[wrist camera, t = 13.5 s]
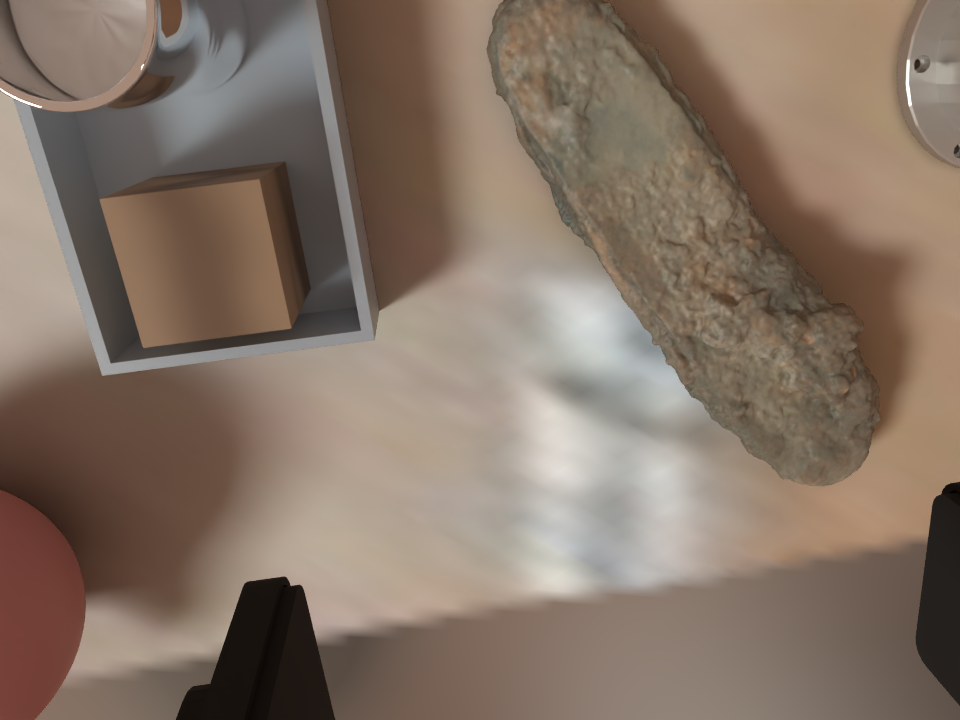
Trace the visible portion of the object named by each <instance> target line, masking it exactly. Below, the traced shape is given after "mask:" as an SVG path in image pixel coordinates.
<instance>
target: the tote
mask: <svg viewBox="0 0 960 720" xmlns="http://www.w3.org/2000/svg"><path fill="white" fill-rule="evenodd" d="M240 1H241V3H242V5H243V8H244V11H245V14H246V18H247V24H248V44H247V49H246V53H245V56H244V58H243V61H242V63H241V64H240V66H239V68H238V69H237V71H236V72H235V73H234V74H233V76H232V77H231V78H230V79H228V80H227V81H226V82H225V83H223V84H222V85H220V86H218V87H216V88H214V89H211V90H207V91H203V92H182V91H181V92H179V93H178V94H176V95H175V96H173V97H171V98H170V99H168V100H166V101H164V102H162V103H160V104H157V105H155V106H152V107H148V108H144V109H140V110H136V111H131V112H122V113H82V112H54V111H48V110H43V109H39V108H35V107H32V106H29V105H27V104H24V103H22V102H19V101H17V100H15V99H14V102H15V105H16V108H17V111H18V114H19V118H20V121H21V124H22V127H23V130H24V133H25V136H26V139H27V143H28V146H29V149H30V152H31V155H32V158H33V161H34V164H35V168H36V171H37V174H38V177H39V180H40V183H41V186H42V189H43V193H44V196H45V199H46V202H47V205H48V208H49V211H50V214H51V218H52V221H53V224H54V227H55V230H56V233H57V236H58V239H59V243H60V246H61V249H62V252H63V255H64V258H65V261H66V264H67V267H68V271H69V274H70V277H71V280H72V283H73V286H74V289H75V292H76V296H77V299H78V302H79V305H80V308H81V311H82V314H83V317H84V321H85V324H86V327H87V330H88V333H89V336H90V339H91V342H92V346H93V349H94V352H95V355H96V358H97V361H98V364H99V367H100V371H101V374H102V376H105V375H113V374H120V373H128V372H135V371H143V370H151V369H158V368H166V367H174V366H181V365H189V364H196V363H204V362H212V361H219V360H227V359H234V358H242V357H250V356H257V355H265V354H273V353H280V352H288V351H295V350H303V349H311V348H318V347H326V346H334V345H341V344H349V343H356V342H364V341H372V340H375V335H376V328H377V322H378V316H379V307H378V301H377V295H376V289H375V283H374V277H373V271H372V266H371V260H370V254H369V248H368V242H367V236H366V230H365V224H364V218H363V212H362V206H361V200H360V194H359V188H358V182H357V176H356V171H355V165H354V159H353V153H352V147H351V141H350V135H349V129H348V123H347V117H346V111H345V105H344V99H343V93H342V87H341V81H340V76H339V70H338V64H337V58H336V52H335V46H334V40H333V34H332V28H331V22H330V16H329V10H328V4H327V0H240ZM284 161H285V163H286V168H287V173H288V177H289V182H290V187H291V192H292V197H293V202H294V207H295V212H296V217H297V222H298V227H299V232H300V237H301V242H302V247H303V252H304V257H305V262H306V267H307V272H308V277H309V282H310V287H311V290H310V292H309V294H308V296H307V298H306V300H305V302H304V304H303V306H302V308H301V310H300V312H299V314H298V316H297V318H296V320H295V322H294V324H293V326H292V329H285V330H277V331H269V332H262V333H254V334H246V335H239V336H231V337H223V338H216V339H208V340H200V341H193V342H185V343H177V344H170V345H162V346H154V347H147V348H143V346H142V343H141V339H140V336H139V332H138V329H137V326H136V322H135V319H134V315H133V312H132V309H131V305H130V302H129V298H128V295H127V292H126V288H125V285H124V281H123V278H122V275H121V271H120V268H119V265H118V261H117V258H116V254H115V251H114V248H113V244H112V241H111V237H110V234H109V231H108V227H107V224H106V220H105V217H104V214H103V210H102V207H101V203H100V200H99V199H101V198H103V197H105V196H108V195H110V194H113V193H115V192H118V191H120V190H123V189H125V188H128V187H130V186H133V185H135V184H138V183H140V182H142V181H145V180H147V179H150V178H154V177H162V176H170V175H178V174H186V173H194V172H202V171H210V170H219V169H227V168H235V167H243V166H251V165H259V164H267V163H275V162H284Z"/></svg>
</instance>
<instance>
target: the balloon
mask: <svg viewBox="0 0 960 720" xmlns="http://www.w3.org/2000/svg"><path fill="white" fill-rule="evenodd" d="M85 609H86V600H85V588H84V582H83V577H82V573H81V570H80V567H79V564H78V561H77V559H76V556H75V554H74V552H73V550H72V548H71V547H70V545H69V543H68V542H67V540H66V539H65V537H64V536H63V534H62V533H61V532H60V531H59V529H58V528H57V527H56V526H55V525H54V524H53V523H52V522H51V521H50V520H49V519H48V518H47V517H46V516H45V515H44V514H42V513H41V512H40V511H39V510H37V509H36V508H35V507H33V506H32V505H30V504H28V503H27V502H25V501H23V500H22V499H20V498H18V497H16V496H14V495H12V494H10V493H7V492H5V491H2V490H0V720H35V719H36V718H37V716H38V715H39V714H40V713H41V712H42V711H43V710H44V708H45V707H46V706H47V705H48V704H49V702H50V701H51V700H52V698H53V697H54V696H55V694H56V693H57V691H58V690H59V688H60V686H61V685H62V683H63V681H64V680H65V678H66V676H67V674H68V672H69V670H70V668H71V666H72V664H73V662H74V659H75V656H76V654H77V651H78V648H79V645H80V641H81V637H82V633H83V628H84V622H85Z"/></svg>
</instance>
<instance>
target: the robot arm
mask: <svg viewBox="0 0 960 720" xmlns="http://www.w3.org/2000/svg"><path fill="white" fill-rule="evenodd" d="M914 63H915V67H914ZM897 85H898V97H899V101H900V105H901V109H902V113H903V116H904V118H905V121H906V123H907V125H908V127H909V129H910V131H911V133H912V134H913V136H914V137H915V138H916V139H917V141H918V142H919V143H920V144H921V146H922V147H923V148H924V149H925V150H926V151H928V152H929V153H930V154H932V155H933V156H934V157H936V158H937V159H938V160H940V161H942V162H945V163H947V164H949V165H951V166H954V167H957V168H960V0H918V2H917V4H916V6H915V8H914V10H913V12H912V15H911V17H910V19H909V21H908V23H907V26H906V29H905V33H904V36H903V39H902V43H901V46H900V52H899V59H898V67H897ZM916 646H917V650H918V653H919V655H920V657H921V659H922V661H923V662H924V664H925V665H926V667H927V668H928V669H929V670H930V671H931V672H932V674H933V675H934V676H935V677H936V678H937V680H938V681H939V682H940V683H941V684H942V685H943V687H944V688H945V689H946V690H947V691H948V692H949V694H950V695H951V696H952V697H953V698H954V700H955V701H956V702H957V703H958V704H959V705H960V482H956V483H950V484H948V485H946V486H945V488H944V489H943V491H942V494H941V495H939V496H936V498H935V499H934V501H933V505H932V513H931V521H930V529H929V537H928V544H927V552H926V560H925V568H924V576H923V585H922V592H921V601H920V607H919V616H918V624H917V631H916ZM176 720H335V717H334V713H333V709H332V705H331V701H330V696H329V692H328V688H327V684H326V680H325V676H324V672H323V667H322V663H321V659H320V655H319V651H318V647H317V642H316V638H315V634H314V630H313V626H312V622H311V617H310V613H309V609H308V605H307V601H306V597H305V593H304V589H303V587H302V586H301V585H295V586H290V583H289V581H288V579H287V578H286V577H278V578H271V579H264V580H256V581H249V582H246V583H245V584H244V586H243V588H242V591H241V594H240V597H239V600H238V603H237V606H236V609H235V612H234V615H233V618H232V621H231V624H230V627H229V630H228V633H227V636H226V639H225V642H224V645H223V648H222V651H221V654H220V657H219V660H218V663H217V665H216V669H215V671H214V674H213V678H212V680H211V684H206V685H199V686H193V687H192V688H191V689H190V690H189V691H188V692H187V694H186V696H185V698H184V700H183V702H182V705H181V707H180V710H179V713H178V716H177V718H176Z"/></svg>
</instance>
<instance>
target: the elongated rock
mask: <svg viewBox="0 0 960 720" xmlns="http://www.w3.org/2000/svg"><path fill="white" fill-rule="evenodd" d="M492 23H493V31H492V33H491V35H490V37H489V41H488V46H487V54H488V58H489V61H490V64H491V68H492V77H493V81H494V84H495V86H496V88H497V91H496V94H497V95H500V96H501V97H502V98H503V99H504V101H505V102H506V103H507V104H508V105H509V107H510V110H511V112H512V115H513V117H514V121H515V125H516V132H517V136H518V139H519V142H520V144H521V145H522V146H523V147H524V149H525V151H526V153H527V154H528V155H529V156H530V157H531V158H532V159H533V160H534V162H535V164H536V165H537V166H538V168H539V169H540V171H541V175H542V177H543V178H544V179H545V180H546V181H547V182H548V183H549V185H550V188H551V191H552V195H553V198H554V201H555V205H556V206H557V208H558V210H559V214H560V216H561V220H562V221H563V222H564V223H565V224H566V225H567V226H569V227H571V229H572V231H573V233H574V234H576V235H578V236H579V237H580V238H582V239H583V240H584V242H585V245H586V246H589V247H590V248H592V249H593V250H594V251H595V253H596V254H597V256H598V258H599V260H600V262H601V263H602V265H603V267H604V268H605V270H606V271H607V273H608V274H609V276H610V277H611V279H612V281H613V282H614V283H615V285H616V287H617V289H618V290H619V291H620V293H621V296H622V298H623V300H624V301H625V302H626V303H627V305H628V306H629V307H630V308H631V309H632V310H633V311H634V313H635V314H636V316H637V317H638V319H639V320H640V322H641V324H642V325H643V326H644V328H645V329H646V330H648V331H649V332H650V333H651V335H652V337H653V340H652V343H653V344H654V345H660V347H661V349H662V352H663V354H664V355H665V357H666V363H667V364H668V365H671V366H672V367H673V368H674V369H675V370H676V373H677V374H678V377H679V379H680V381H681V382H682V384H684V386H685V388H686V389H687V391H688V392H689V394H690V395H691V397H693V398H696V399H697V400H699V401H701V402H702V403H703V404H704V406H705V409H706V411H707V412H708V413H709V414H710V417H711V418H712V419H713V420H715V421H717V422H718V423H719V424H720V425H721V426H722V427H723V428H725V429H727V430H730V431H732V432H733V433H734V434H735V435H737V436H738V437H739V438H740V439H741V442H742V444H743V445H744V447H745V448H746V450H747V452H748V453H750V454H752V455H753V456H754V457H757V458H759V459H762V460H764V461H766V462H767V463H768V464H770V465H771V466H772V468H773V469H774V470H776V472H777V473H778V474H779V476H780V477H781V478H782V479H790V480H792V481H795V482H797V483H800V484H805V485H810V486H826V485H832V484H834V483H837V482H839V481H842V480H844V479H845V478H847V477H848V476H850V475H851V474H852V473H853V472H855V471H857V470H858V469H859V468H860V467H861V465H862V463H863V462H864V461H865V459H866V457H867V456H868V453H869V448H870V445H871V435H872V433H873V431H874V426H875V425H876V424H877V423H878V422H879V421H880V420H881V415H880V413H879V410H878V409H879V397H878V396H877V394H878V393H879V387H878V384H877V381H876V379H875V378H874V376H873V375H871V374H870V371H869V369H868V368H867V367H866V366H865V365H864V364H863V360H862V358H861V356H860V351H859V350H857V349H856V347H857V345H858V343H859V339H858V338H857V336H858V335H859V334H860V333H861V332H862V331H863V330H864V324H863V322H862V321H861V320H860V319H859V317H858V316H857V315H856V314H855V312H854V311H853V309H852V308H851V307H850V306H847V305H845V304H830V303H829V300H828V299H827V298H826V297H825V296H824V295H823V291H822V289H821V287H820V286H819V284H818V283H817V281H816V280H815V279H814V277H813V276H812V275H810V274H808V272H806V271H805V270H804V268H803V267H802V266H801V265H800V264H798V263H796V259H795V258H794V256H793V254H792V253H791V252H790V251H789V250H788V249H786V248H785V247H784V246H783V245H782V244H780V243H779V241H777V238H776V237H775V236H774V235H772V234H771V232H770V229H768V228H766V227H765V225H764V224H763V223H762V222H761V221H760V220H759V218H758V217H757V216H756V215H755V213H754V211H753V209H752V207H751V203H750V201H749V199H748V193H746V192H745V190H744V189H743V188H742V187H741V185H740V183H739V180H738V179H737V175H736V173H735V172H734V170H733V168H732V166H731V164H730V163H729V162H728V160H727V159H726V157H725V156H724V153H723V150H722V149H721V147H720V145H719V143H718V142H717V141H716V139H715V137H714V135H713V133H712V132H711V131H710V130H709V129H708V125H707V124H706V123H705V120H704V118H703V116H702V115H700V113H699V112H697V111H696V110H695V109H694V108H693V107H692V106H691V103H690V100H689V98H688V97H687V96H686V94H685V93H684V92H682V91H681V90H679V89H678V88H677V87H676V86H675V85H674V81H673V79H672V76H671V72H670V71H669V69H668V68H667V66H666V64H665V63H664V62H663V61H662V60H661V58H660V56H659V54H658V51H657V50H656V49H655V48H653V47H652V46H651V45H650V44H649V43H642V42H641V40H639V38H638V36H637V35H636V33H635V32H634V31H633V30H632V29H631V28H630V27H629V26H628V25H627V24H626V23H624V22H623V20H622V19H621V18H620V17H619V15H618V14H616V13H615V9H614V6H613V5H612V4H610V3H609V2H603V1H602V0H504V1H503V2H502V3H500V4H499V6H498V9H497V10H496V12H495V15H494V17H493V20H492Z"/></svg>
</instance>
